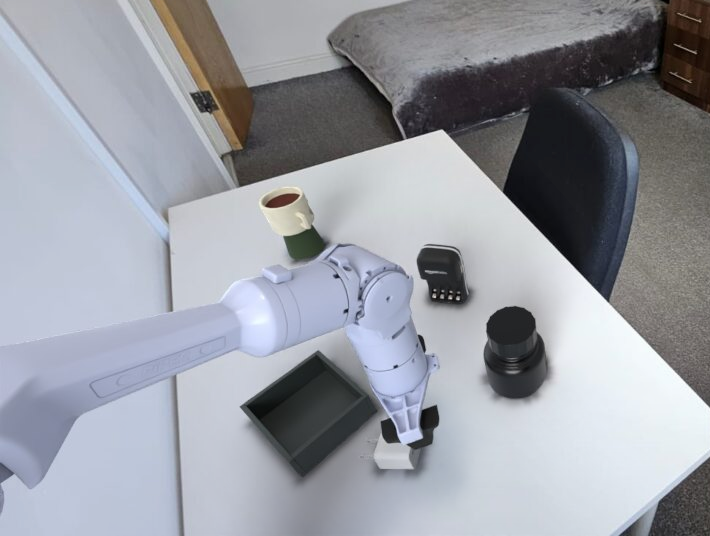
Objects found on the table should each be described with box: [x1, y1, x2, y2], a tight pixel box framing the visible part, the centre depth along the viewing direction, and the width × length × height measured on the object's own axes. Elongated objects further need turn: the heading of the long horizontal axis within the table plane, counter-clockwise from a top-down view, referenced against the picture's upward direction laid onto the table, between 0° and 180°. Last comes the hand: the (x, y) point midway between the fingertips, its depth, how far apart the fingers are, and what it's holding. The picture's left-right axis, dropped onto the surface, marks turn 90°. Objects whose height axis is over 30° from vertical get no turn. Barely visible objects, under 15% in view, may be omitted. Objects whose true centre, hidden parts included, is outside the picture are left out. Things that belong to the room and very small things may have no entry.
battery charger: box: [416, 243, 470, 305], centre depth 79 cm, size 7×4×11 cm, turn 84°
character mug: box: [258, 185, 326, 260], centre depth 87 cm, size 11×7×13 cm, turn 59°
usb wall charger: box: [358, 431, 422, 470], centre depth 61 cm, size 4×7×4 cm, turn 90°
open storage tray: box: [239, 349, 378, 478], centre depth 65 cm, size 11×12×4 cm
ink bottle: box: [482, 305, 548, 400], centre depth 68 cm, size 10×9×12 cm
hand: (418, 414), depth 56 cm, fingers open, 7 cm apart
